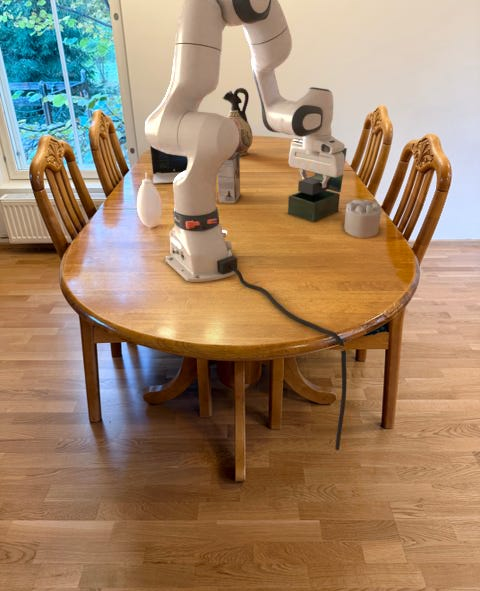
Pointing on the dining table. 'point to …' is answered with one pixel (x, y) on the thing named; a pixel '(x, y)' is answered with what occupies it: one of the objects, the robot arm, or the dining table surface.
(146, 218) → the sauce bottle
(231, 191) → the coffee box
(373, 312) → the dining table surface
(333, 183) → the case lid
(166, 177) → the laptop
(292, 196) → the case
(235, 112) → the ceramic jug
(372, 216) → the lumpy-topped squat cylinder
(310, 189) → the dark grey block
